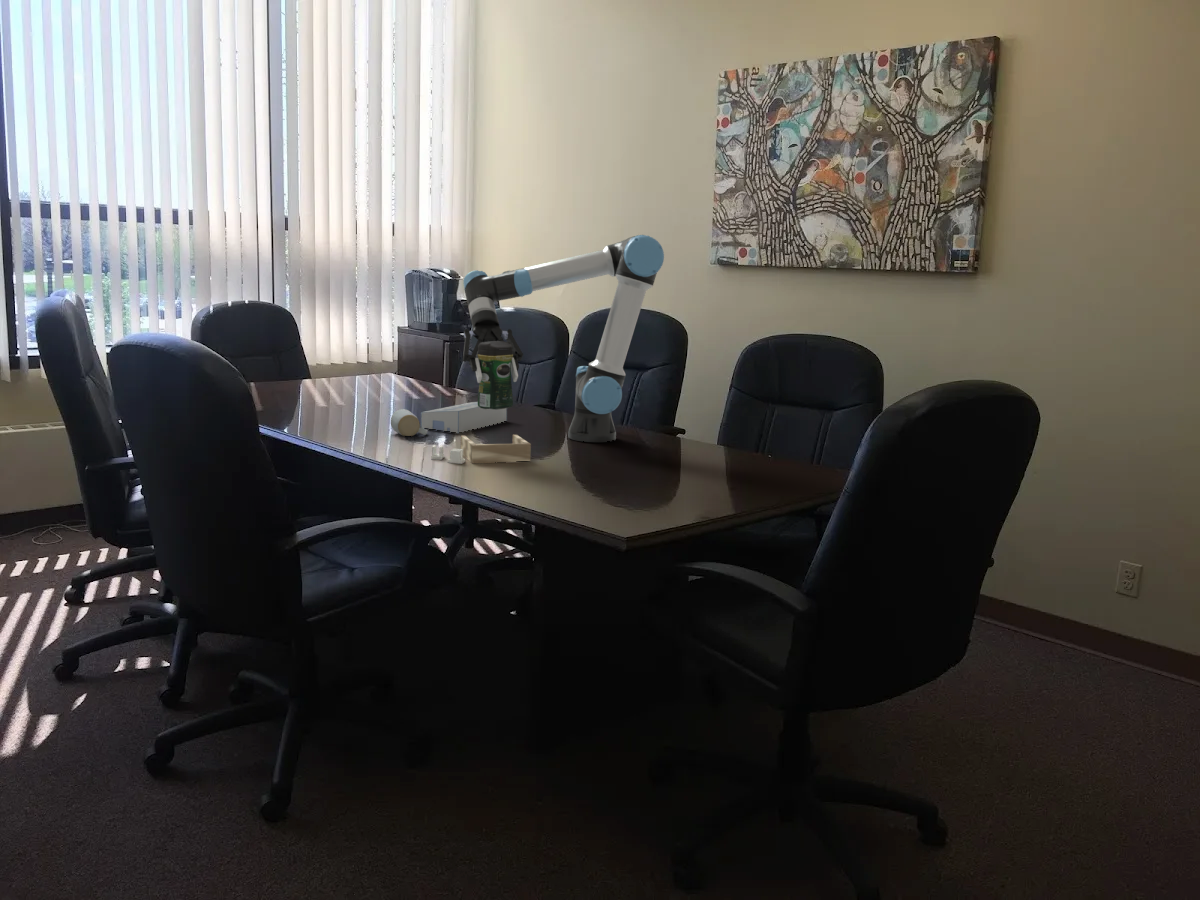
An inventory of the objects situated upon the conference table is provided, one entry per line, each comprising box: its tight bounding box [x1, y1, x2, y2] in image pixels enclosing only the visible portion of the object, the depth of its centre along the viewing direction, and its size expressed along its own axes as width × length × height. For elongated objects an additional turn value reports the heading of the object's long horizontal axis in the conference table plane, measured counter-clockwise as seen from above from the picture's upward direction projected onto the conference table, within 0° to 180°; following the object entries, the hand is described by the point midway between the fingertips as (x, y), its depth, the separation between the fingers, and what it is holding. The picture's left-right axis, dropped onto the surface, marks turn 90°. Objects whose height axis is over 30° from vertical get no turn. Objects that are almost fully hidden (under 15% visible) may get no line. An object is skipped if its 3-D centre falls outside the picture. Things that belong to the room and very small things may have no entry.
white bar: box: [420, 401, 508, 434], centre depth 321 cm, size 30×14×8 cm, turn 155°
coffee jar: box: [477, 340, 514, 410], centre depth 267 cm, size 10×8×19 cm
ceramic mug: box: [390, 408, 429, 437], centre depth 298 cm, size 11×8×8 cm
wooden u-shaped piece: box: [460, 434, 532, 464], centre depth 270 cm, size 15×16×5 cm
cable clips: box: [430, 444, 466, 465], centre depth 264 cm, size 5×12×3 cm, turn 57°
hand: (498, 379), depth 264 cm, fingers closed on coffee jar, 9 cm apart
